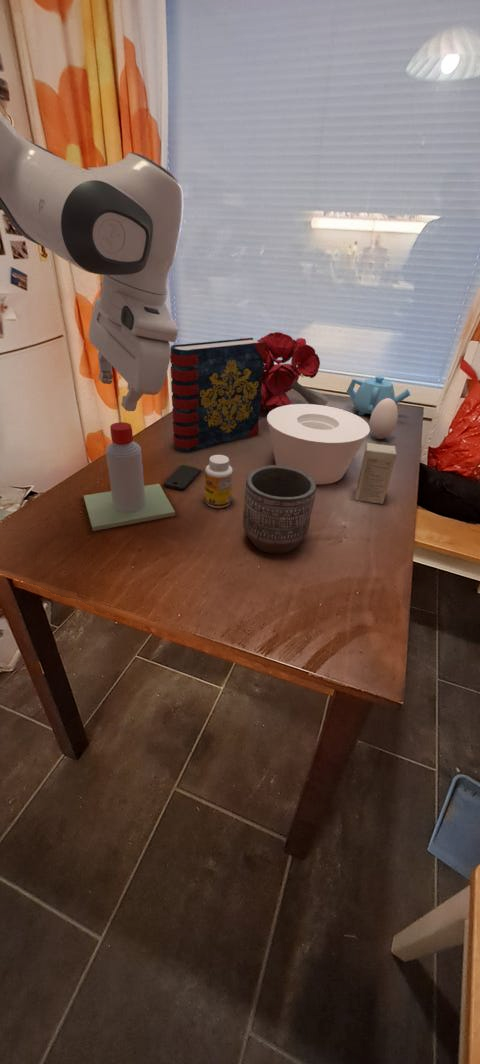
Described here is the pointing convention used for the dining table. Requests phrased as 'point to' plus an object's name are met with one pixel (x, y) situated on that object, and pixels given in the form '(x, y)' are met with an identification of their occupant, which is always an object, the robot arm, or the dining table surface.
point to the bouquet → (287, 370)
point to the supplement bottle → (218, 482)
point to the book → (215, 392)
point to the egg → (383, 418)
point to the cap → (121, 433)
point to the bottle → (126, 476)
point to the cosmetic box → (375, 472)
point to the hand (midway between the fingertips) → (116, 395)
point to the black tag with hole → (182, 477)
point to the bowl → (316, 439)
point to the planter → (278, 507)
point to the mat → (109, 517)
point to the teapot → (373, 393)
